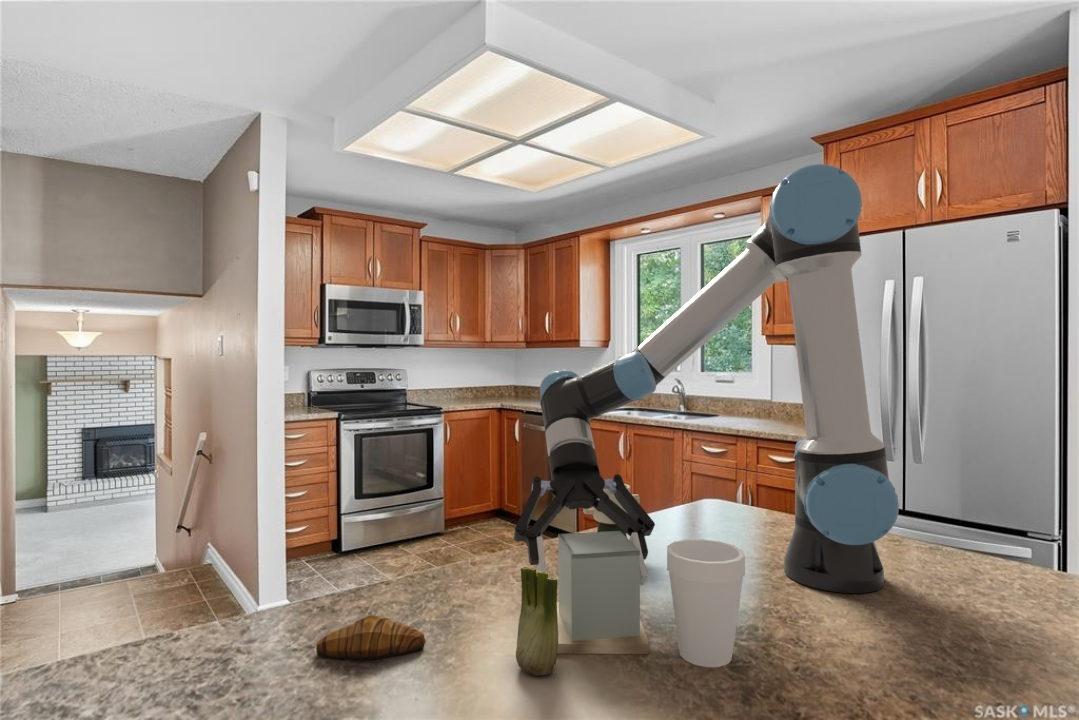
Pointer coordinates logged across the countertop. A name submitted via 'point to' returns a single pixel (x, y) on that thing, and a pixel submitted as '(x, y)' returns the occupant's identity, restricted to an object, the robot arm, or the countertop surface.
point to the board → (601, 643)
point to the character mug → (605, 522)
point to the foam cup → (706, 598)
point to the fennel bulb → (537, 623)
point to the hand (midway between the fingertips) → (593, 584)
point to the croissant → (371, 640)
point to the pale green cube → (599, 585)
